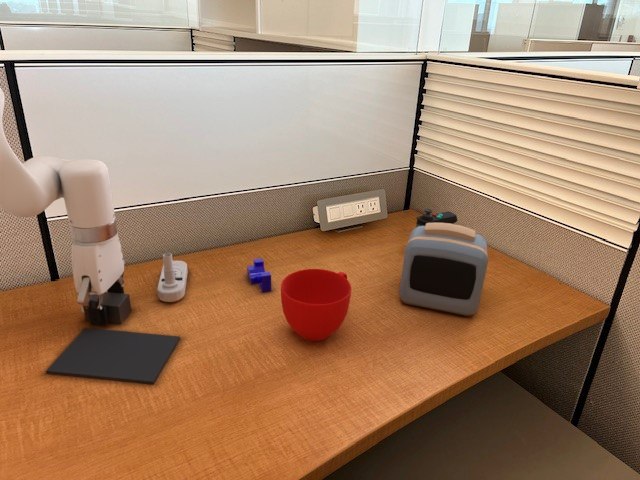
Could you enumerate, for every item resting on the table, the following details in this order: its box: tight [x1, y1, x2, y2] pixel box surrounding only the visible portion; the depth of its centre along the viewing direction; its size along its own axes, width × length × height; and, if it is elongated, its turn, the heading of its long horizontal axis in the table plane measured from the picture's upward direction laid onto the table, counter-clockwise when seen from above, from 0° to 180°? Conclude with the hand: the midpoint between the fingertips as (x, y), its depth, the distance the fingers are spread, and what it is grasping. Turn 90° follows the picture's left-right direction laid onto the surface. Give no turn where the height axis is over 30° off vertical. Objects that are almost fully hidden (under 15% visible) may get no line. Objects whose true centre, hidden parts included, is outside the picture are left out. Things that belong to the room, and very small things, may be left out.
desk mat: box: [45, 327, 181, 385], centre depth 83 cm, size 18×12×1 cm, turn 85°
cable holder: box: [246, 258, 272, 293], centre depth 106 cm, size 8×4×4 cm, turn 20°
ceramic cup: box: [280, 268, 352, 342], centre depth 91 cm, size 13×17×10 cm
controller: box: [415, 208, 458, 227], centre depth 128 cm, size 4×12×10 cm, turn 118°
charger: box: [80, 291, 132, 325], centre depth 92 cm, size 8×4×4 cm, turn 85°
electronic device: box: [156, 252, 189, 303], centre depth 103 cm, size 5×10×15 cm
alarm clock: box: [398, 223, 489, 317], centre depth 103 cm, size 16×16×16 cm
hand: (108, 313), depth 93 cm, fingers open, 6 cm apart
